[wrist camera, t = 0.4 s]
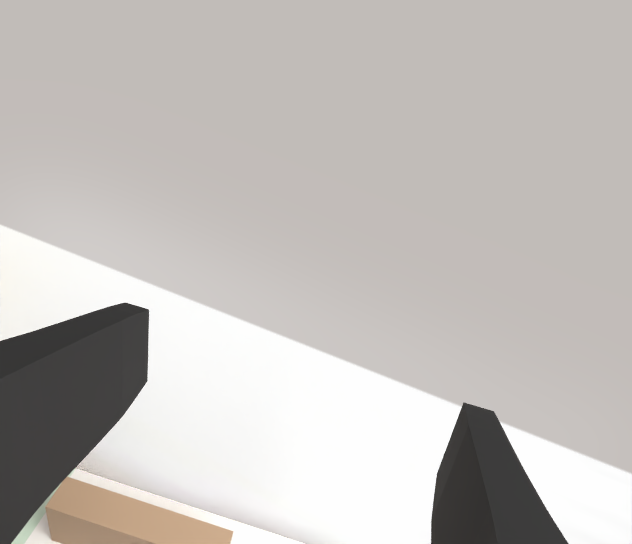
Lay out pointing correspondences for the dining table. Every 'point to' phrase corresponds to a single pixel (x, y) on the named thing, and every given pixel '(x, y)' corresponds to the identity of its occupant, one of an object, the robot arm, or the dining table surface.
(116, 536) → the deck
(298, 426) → the dining table surface
